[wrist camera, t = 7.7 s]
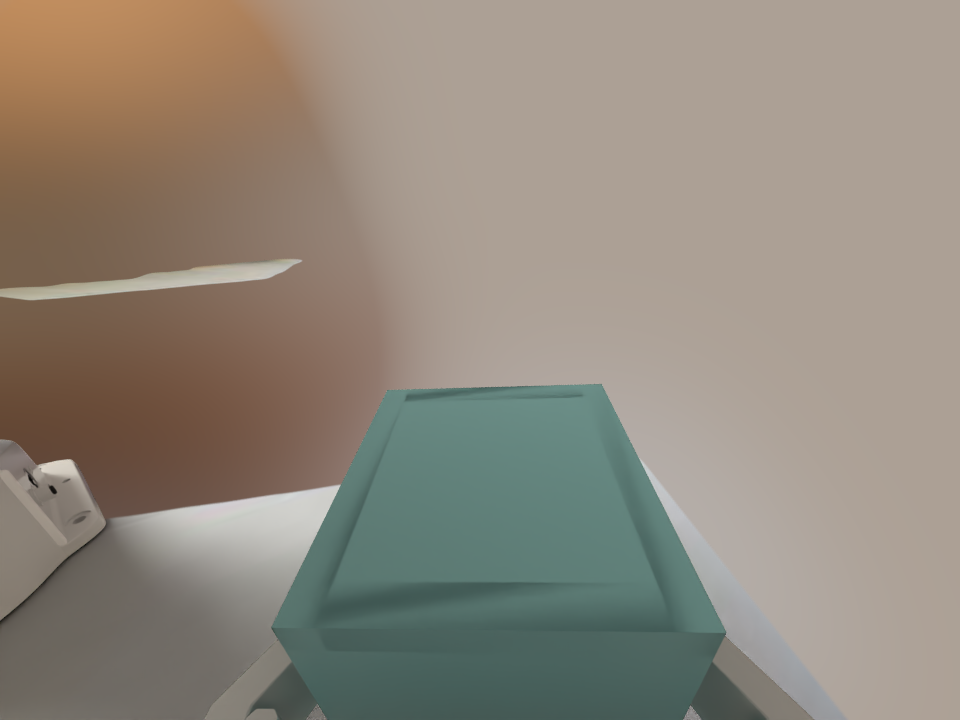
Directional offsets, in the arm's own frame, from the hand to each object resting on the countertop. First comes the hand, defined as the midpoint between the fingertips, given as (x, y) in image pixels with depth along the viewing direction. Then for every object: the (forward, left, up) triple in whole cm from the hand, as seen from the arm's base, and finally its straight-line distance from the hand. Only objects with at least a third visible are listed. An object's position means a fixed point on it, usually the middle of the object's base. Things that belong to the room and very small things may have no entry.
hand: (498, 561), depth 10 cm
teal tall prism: (+1, -1, -6) cm, 6 cm away
